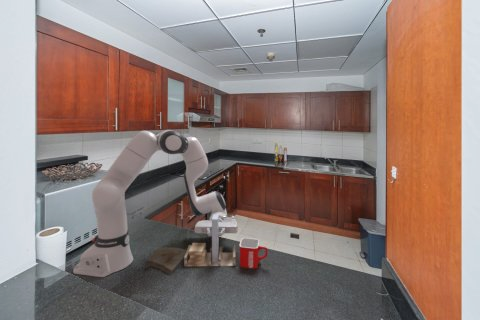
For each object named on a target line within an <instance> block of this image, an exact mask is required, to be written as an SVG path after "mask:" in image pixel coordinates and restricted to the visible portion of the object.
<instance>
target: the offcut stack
mask: <svg viewBox="0 0 480 320" xmlns="http://www.w3.org/2000/svg"><path fill="white" fill-rule="evenodd" d="M206 246H207V244H206V242H192V243H191V247H190V249H189V255H190V257H189V260H188V265H205V260H206V256H207V253H208V250H207V249H206V248H207V247H206Z"/></svg>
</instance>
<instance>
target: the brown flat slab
mask: <svg viewBox="0 0 480 320" xmlns="http://www.w3.org/2000/svg"><path fill="white" fill-rule="evenodd" d="M186 252H187V250H186V249H183V248H181V247H179V248H178V247H176V246H168V247H158V249H156V251H155V252H154V253H153V254H152V255H151V256H150V257H148V259H146V260H145V267H146V268H147V269H149V267H152V268H155V269H159V270H161V271H163V272H164V273H166V274H167V275H170V276H171V275H173V274H174V273H175V272H176V270H177V269H178V268H179V267H180V265H181V264H182V263H183V262H184V257H185V254H186Z"/></svg>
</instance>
